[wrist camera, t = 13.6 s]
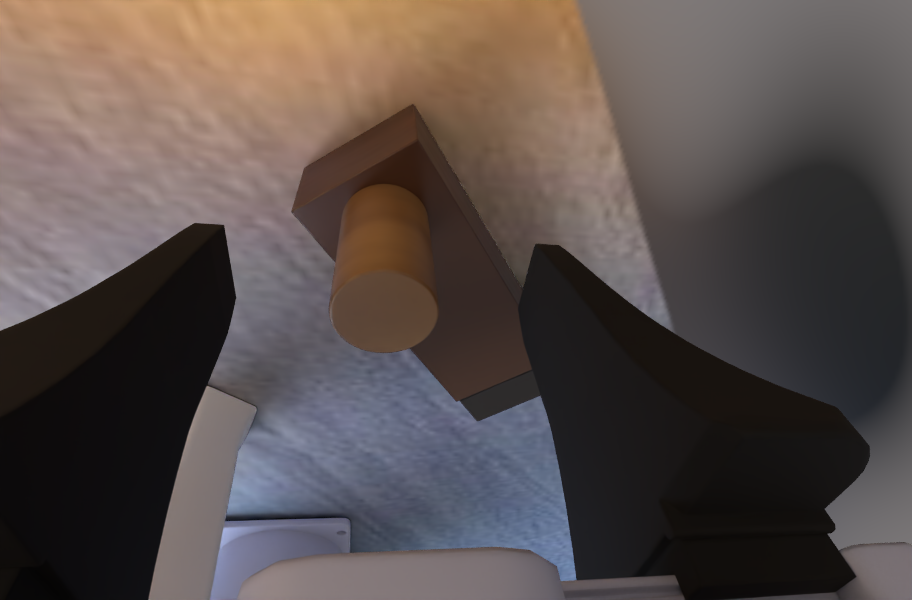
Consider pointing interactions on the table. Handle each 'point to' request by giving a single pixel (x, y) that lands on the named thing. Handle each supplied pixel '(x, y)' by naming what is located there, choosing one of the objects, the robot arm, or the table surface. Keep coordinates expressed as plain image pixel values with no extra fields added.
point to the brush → (417, 264)
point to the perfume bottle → (201, 499)
